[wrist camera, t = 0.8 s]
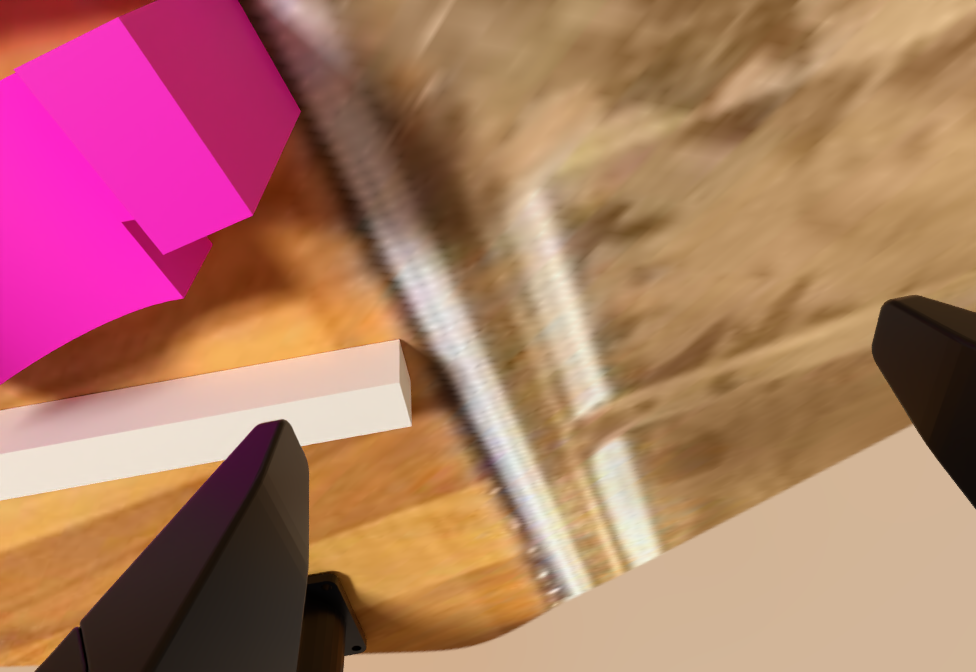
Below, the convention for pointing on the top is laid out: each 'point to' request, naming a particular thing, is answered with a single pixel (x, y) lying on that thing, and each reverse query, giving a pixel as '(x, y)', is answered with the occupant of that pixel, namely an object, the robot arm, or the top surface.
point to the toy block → (129, 166)
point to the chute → (200, 418)
